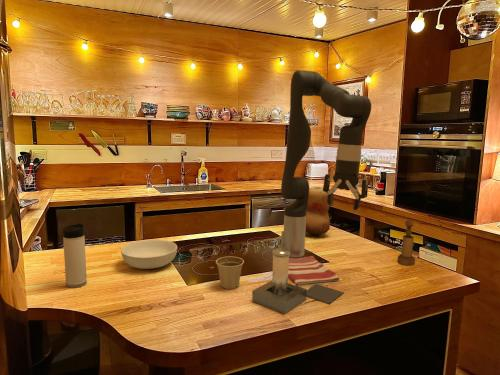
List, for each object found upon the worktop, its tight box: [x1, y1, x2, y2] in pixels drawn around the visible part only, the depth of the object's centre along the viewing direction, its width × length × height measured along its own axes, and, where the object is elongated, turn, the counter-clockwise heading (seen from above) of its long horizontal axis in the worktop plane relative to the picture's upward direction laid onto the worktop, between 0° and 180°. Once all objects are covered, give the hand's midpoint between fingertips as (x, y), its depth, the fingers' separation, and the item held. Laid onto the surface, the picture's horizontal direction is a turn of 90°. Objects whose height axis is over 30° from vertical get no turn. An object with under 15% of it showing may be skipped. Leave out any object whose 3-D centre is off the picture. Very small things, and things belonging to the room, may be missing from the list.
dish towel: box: [288, 255, 340, 287], centre depth 136 cm, size 17×23×3 cm
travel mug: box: [62, 223, 88, 289], centre depth 120 cm, size 6×7×20 cm
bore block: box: [251, 280, 308, 315], centre depth 112 cm, size 12×12×4 cm
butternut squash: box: [305, 185, 331, 237], centre depth 182 cm, size 14×13×25 cm
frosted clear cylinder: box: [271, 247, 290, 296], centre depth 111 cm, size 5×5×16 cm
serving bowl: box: [120, 239, 178, 270], centre depth 139 cm, size 21×21×7 cm
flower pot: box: [215, 255, 245, 290], centre depth 122 cm, size 9×9×9 cm
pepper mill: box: [396, 219, 416, 266], centre depth 146 cm, size 7×6×18 cm
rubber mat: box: [306, 284, 344, 305], centre depth 117 cm, size 10×10×1 cm
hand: (342, 207), depth 119 cm, fingers open, 8 cm apart
